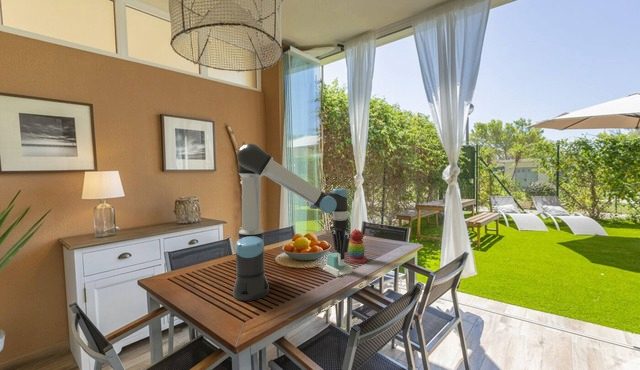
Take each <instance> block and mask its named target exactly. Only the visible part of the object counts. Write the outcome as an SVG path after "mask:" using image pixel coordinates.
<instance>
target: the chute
mask: <svg viewBox="0 0 640 370" xmlns="http://www.w3.org/2000/svg"><path fill="white" fill-rule="evenodd" d="M317 268H320V269H321V270H323V271H325V272H327V273H329V274H330V275H333V276H334V277H341V275H342V276H345V274H346V275H348V274H352V272H353V273H354V266H352V265H350V264H348V263H345V262H344V268H343V269H339V270H338V269H335V268H333V267H331V266H329V265H327V264H326V265H321V266H318V267H317Z"/></svg>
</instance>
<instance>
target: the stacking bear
mask: <svg viewBox="0 0 640 370" xmlns="http://www.w3.org/2000/svg"><path fill="white" fill-rule="evenodd" d="M364 237H365V235H364V234H363V233H362V231H361V230H359V229H356V228H354V230H352V231H351V232H350V239H351V240H349V244H348V250H347V253H348V256H349V258H348V261H349V262H350V263H354V264H358V265H359V264H361V265H362V264H366V263H367V256H365V253H366V250H365V248H366V247H365V244H364V240H363V239H364Z"/></svg>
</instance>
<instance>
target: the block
mask: <svg viewBox="0 0 640 370" xmlns="http://www.w3.org/2000/svg"><path fill="white" fill-rule="evenodd" d="M326 256H327V257H326V258H327V259H326V260H327V261H326V262H327V265H329V266H331V267H333V268H335V269H338V270H339V269H343V268H344V265H342V266H339V265H338V252H337V251H336V252H333V253H328V254H327V255H326Z"/></svg>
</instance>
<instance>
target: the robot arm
mask: <svg viewBox="0 0 640 370" xmlns="http://www.w3.org/2000/svg"><path fill="white" fill-rule="evenodd" d="M236 159H237V163H238V175H239V176H240V177H241V228H240V230H239V231H238V240H237V241H236V243H235V248H234V249H235V263H236V264H235V265H236V267H235V268H236V279H235V283H234V286H233V290H232V296H233V298H234V299H235V300H237V301H245V302H246V301H248V302H249V301H255V300H259V299H263V298H264V297H266V296H267V295H269V293H270V285H269V282H268V280H267V277H266V274H265V273H266V272H265V251H264V250H265V242H264V241H265V239H264V236H265V235H264V232H265V231H264V230H263V229H262V228H261V213H262V212H261V208H262V207H261V205H262V204H261V202H262V201H261V200H262V199H261V196H262V195H261V193H262V190H261V189H262V186H261V184H262V183H261V179H262V177H263V176H265V177H266V178H267V179H269V180H271V181H273V182H274V183H276V184H278V185H280V186H281V187H283V188H284V189H286V190H288V191H289V192H291V193H292V194H294V195H295V196H297V197H299V198H300V199H302V200H303V201H305V202H307V203H308V206H309V209H311V210H317V209H318V210H320V212H323V213H325V214H331V213H332V226H333V228H334V230H332V231H331V234H332V239H333V240H332V241H333V246H334V250H335V251H336V252H337V253H338V265H339V266H342V265H344V263H345V253H348V247H349V242H350V239H351V233H348V230H347V228H348V226H349V220H348V215H349V214H348V213H349V212H348V208H349V207H348V205H349V204H348V203H349V201H348V190H347V189H346V188H338V187H337V188H333V189H332V190H331V192H327V193H326V192H324V191H322V190H321V189H319V188H317V187H316V186H315V185H313V184H312V183H310V182H308V181H307V180H306V179H304V178H302V177H301V176H299V175H298V174H296V173H294V172H293V171H291V170H289V169H288V168H287V167H284V165H281V164H280V163H278V162H277V161H275V160H274V157H273V156H271V155H270V154H269V153H267V152H266V151H265V150H264V149H262V148H261V147H260V146H259V145H257V144H256V143H245V144H243V145H242V146H241V147H240V148H239V149H238V151H237V155H236Z"/></svg>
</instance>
